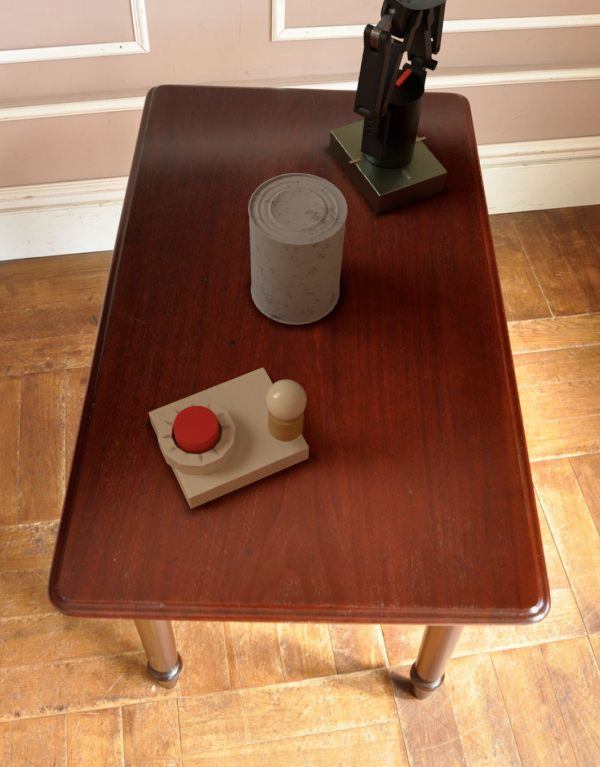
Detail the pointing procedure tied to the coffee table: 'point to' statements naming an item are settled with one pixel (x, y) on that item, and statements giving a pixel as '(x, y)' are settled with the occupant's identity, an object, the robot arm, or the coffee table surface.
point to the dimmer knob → (402, 120)
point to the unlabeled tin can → (296, 247)
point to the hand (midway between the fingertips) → (390, 134)
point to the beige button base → (227, 440)
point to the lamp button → (196, 429)
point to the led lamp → (285, 409)
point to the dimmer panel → (386, 171)
